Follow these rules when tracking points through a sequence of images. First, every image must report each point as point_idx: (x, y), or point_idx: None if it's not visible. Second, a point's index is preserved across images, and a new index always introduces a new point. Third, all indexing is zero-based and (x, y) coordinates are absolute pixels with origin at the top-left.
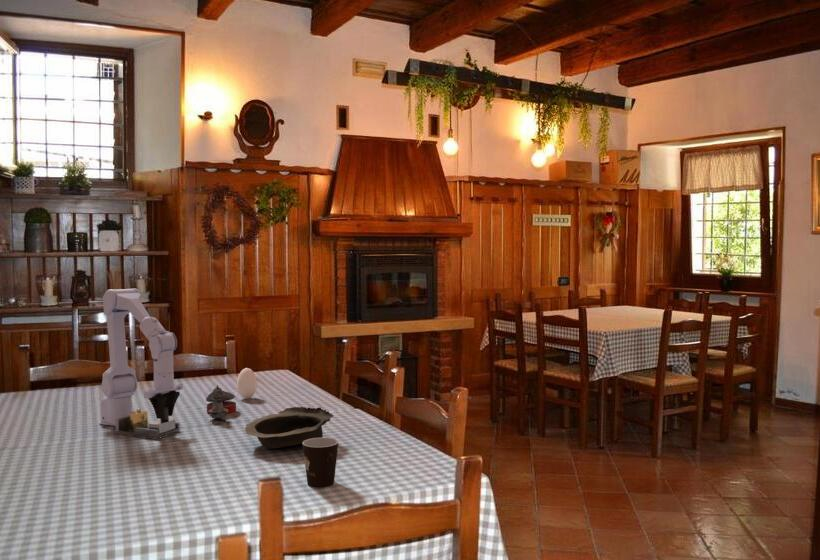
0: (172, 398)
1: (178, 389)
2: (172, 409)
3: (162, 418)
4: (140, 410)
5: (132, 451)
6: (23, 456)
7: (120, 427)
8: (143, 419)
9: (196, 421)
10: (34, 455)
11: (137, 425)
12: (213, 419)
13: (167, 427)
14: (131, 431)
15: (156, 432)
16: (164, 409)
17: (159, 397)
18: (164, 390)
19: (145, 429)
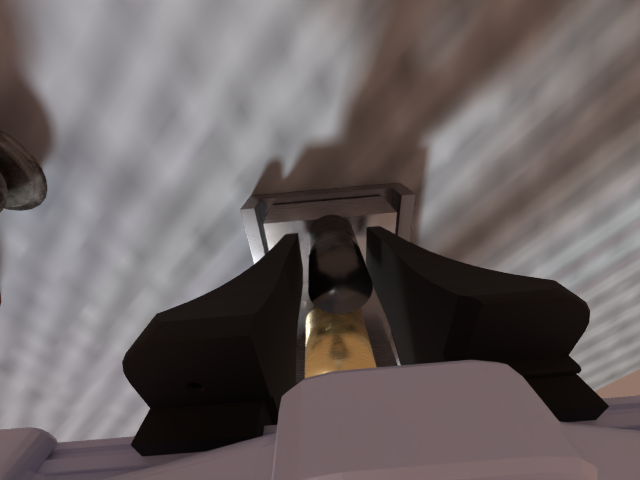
0: (276, 311)
1: (63, 446)
2: (286, 246)
3: (376, 226)
4: None
5: (609, 120)
6: (628, 355)
7: (384, 352)
8: (347, 332)
9: (99, 253)
10: (622, 344)
11: (362, 322)
12: (10, 194)
13: (326, 206)
14: (380, 312)
15: (411, 192)
16: (360, 262)
17: (545, 346)
18: (631, 468)
19: None
